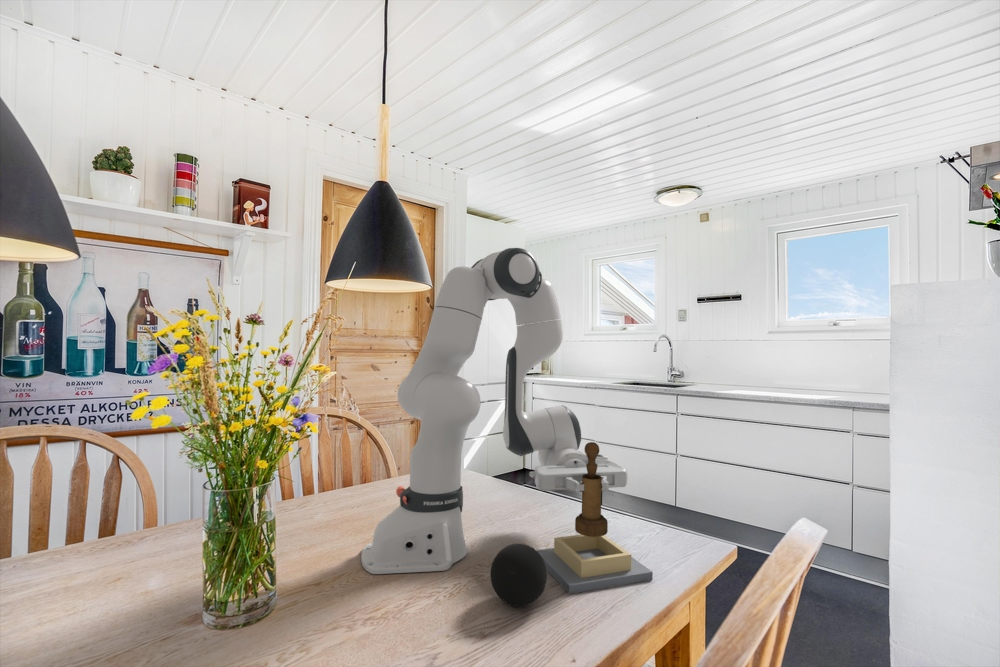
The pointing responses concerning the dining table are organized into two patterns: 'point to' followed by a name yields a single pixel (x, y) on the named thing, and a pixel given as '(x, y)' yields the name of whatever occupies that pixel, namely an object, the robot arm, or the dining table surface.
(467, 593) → the dining table surface
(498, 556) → the speaker
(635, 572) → the holder
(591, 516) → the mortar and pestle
